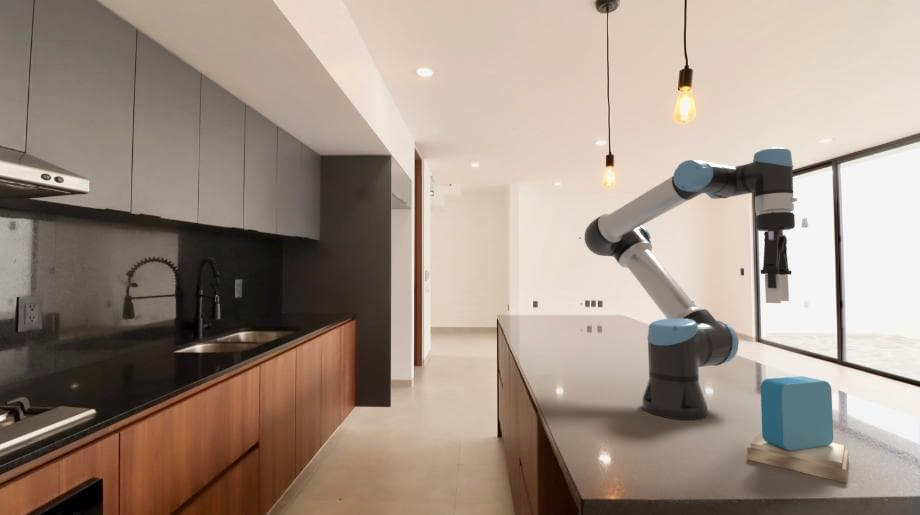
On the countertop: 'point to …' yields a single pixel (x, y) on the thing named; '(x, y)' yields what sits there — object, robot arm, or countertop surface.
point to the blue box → (796, 412)
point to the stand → (802, 458)
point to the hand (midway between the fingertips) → (777, 302)
